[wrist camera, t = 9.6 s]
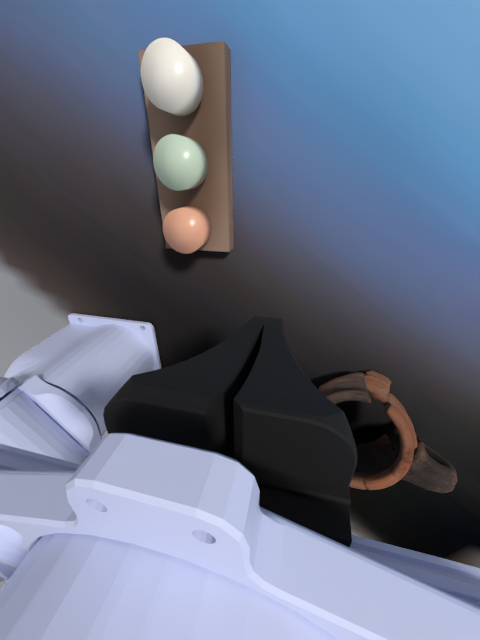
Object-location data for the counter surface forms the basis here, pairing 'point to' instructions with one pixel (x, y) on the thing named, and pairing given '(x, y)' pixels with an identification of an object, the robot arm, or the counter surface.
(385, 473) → the pottery mug
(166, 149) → the sage button
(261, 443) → the robot arm
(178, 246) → the terracotta button
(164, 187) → the button panel
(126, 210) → the counter surface
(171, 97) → the cream button
